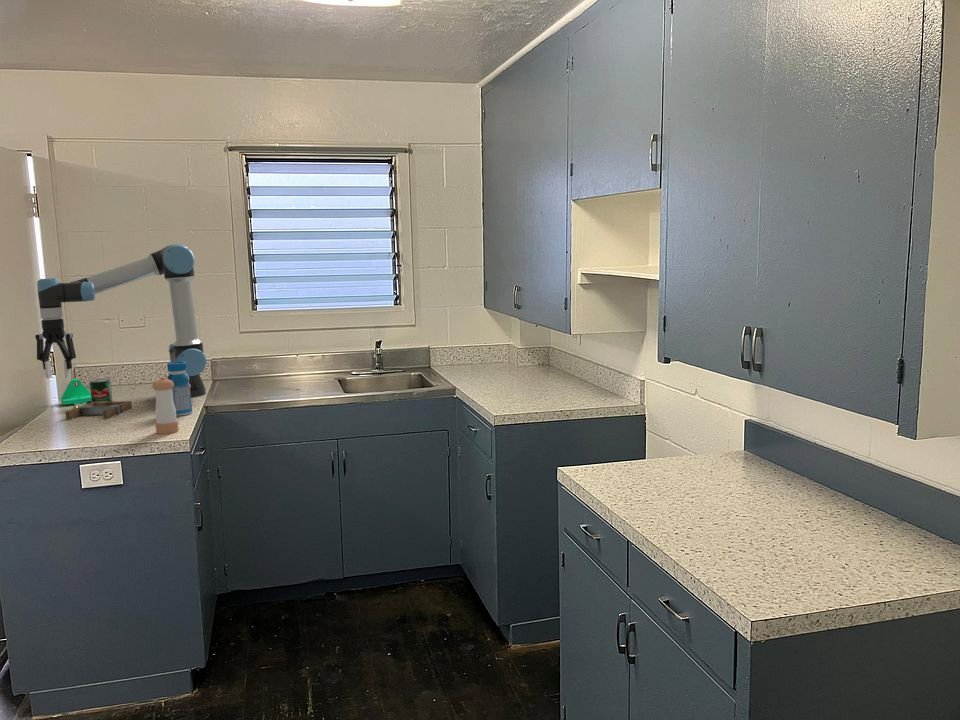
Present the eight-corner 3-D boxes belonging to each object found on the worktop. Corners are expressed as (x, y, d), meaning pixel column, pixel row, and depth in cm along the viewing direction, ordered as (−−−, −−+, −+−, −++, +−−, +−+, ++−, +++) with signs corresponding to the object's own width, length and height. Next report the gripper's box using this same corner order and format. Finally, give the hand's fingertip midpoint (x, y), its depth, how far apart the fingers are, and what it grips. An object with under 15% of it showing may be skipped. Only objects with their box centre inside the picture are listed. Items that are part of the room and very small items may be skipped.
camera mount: (65, 407, 329) (62, 382, 328) (61, 404, 335) (58, 380, 334) (96, 402, 337) (93, 378, 335) (92, 400, 343) (89, 376, 341)
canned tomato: (109, 403, 333) (106, 377, 331) (116, 405, 327) (113, 379, 326) (89, 406, 327) (86, 380, 326) (96, 409, 322) (93, 382, 320)
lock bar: (121, 412, 313) (120, 403, 312) (117, 414, 309) (116, 405, 309) (77, 413, 313) (76, 405, 313) (73, 415, 310) (72, 406, 310)
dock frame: (131, 408, 321) (131, 400, 321) (107, 418, 302) (106, 411, 302) (93, 409, 322) (92, 401, 322) (66, 419, 303) (65, 412, 302)
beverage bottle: (182, 416, 301) (177, 364, 298) (164, 415, 304) (159, 364, 301) (197, 412, 309) (193, 361, 306) (180, 411, 312) (175, 360, 309)
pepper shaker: (181, 428, 281) (176, 375, 278) (174, 433, 274) (169, 378, 271) (160, 429, 281) (155, 376, 278) (153, 434, 273) (147, 379, 271)
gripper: (82, 317, 310) (88, 375, 313) (32, 318, 311) (39, 376, 314) (71, 318, 302) (78, 378, 306) (21, 320, 303) (28, 379, 307)
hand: (58, 377), depth 310 cm, fingers open, 7 cm apart
